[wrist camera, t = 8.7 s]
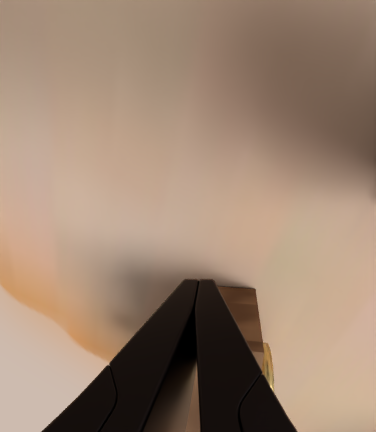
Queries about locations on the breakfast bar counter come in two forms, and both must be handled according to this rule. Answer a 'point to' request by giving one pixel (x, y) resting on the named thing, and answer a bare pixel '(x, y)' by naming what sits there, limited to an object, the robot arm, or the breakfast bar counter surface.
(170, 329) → the robot arm
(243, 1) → the breakfast bar counter surface
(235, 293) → the block
